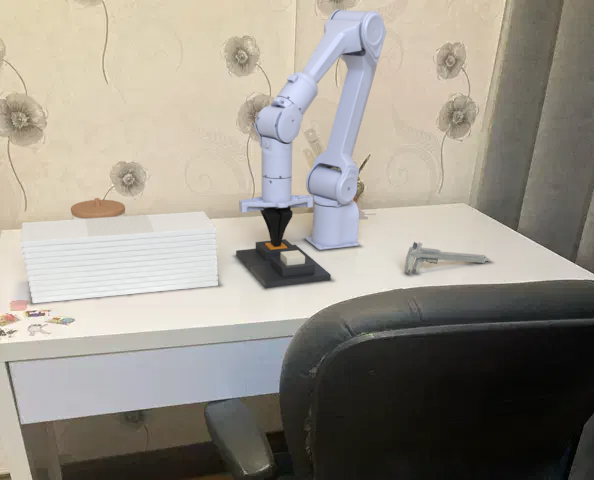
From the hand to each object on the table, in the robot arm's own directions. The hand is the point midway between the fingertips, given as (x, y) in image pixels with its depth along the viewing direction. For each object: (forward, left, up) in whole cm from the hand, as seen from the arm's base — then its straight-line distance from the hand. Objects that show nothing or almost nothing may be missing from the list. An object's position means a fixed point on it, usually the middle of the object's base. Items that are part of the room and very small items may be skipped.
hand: (275, 245), depth 132 cm
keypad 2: (0, +9, -3) cm, 10 cm away
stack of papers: (+30, +4, -3) cm, 31 cm away
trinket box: (+31, -20, -3) cm, 38 cm away
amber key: (0, 0, -2) cm, 2 cm away
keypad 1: (0, 0, -3) cm, 3 cm away
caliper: (-32, +15, -3) cm, 35 cm away
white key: (0, +9, 0) cm, 9 cm away
